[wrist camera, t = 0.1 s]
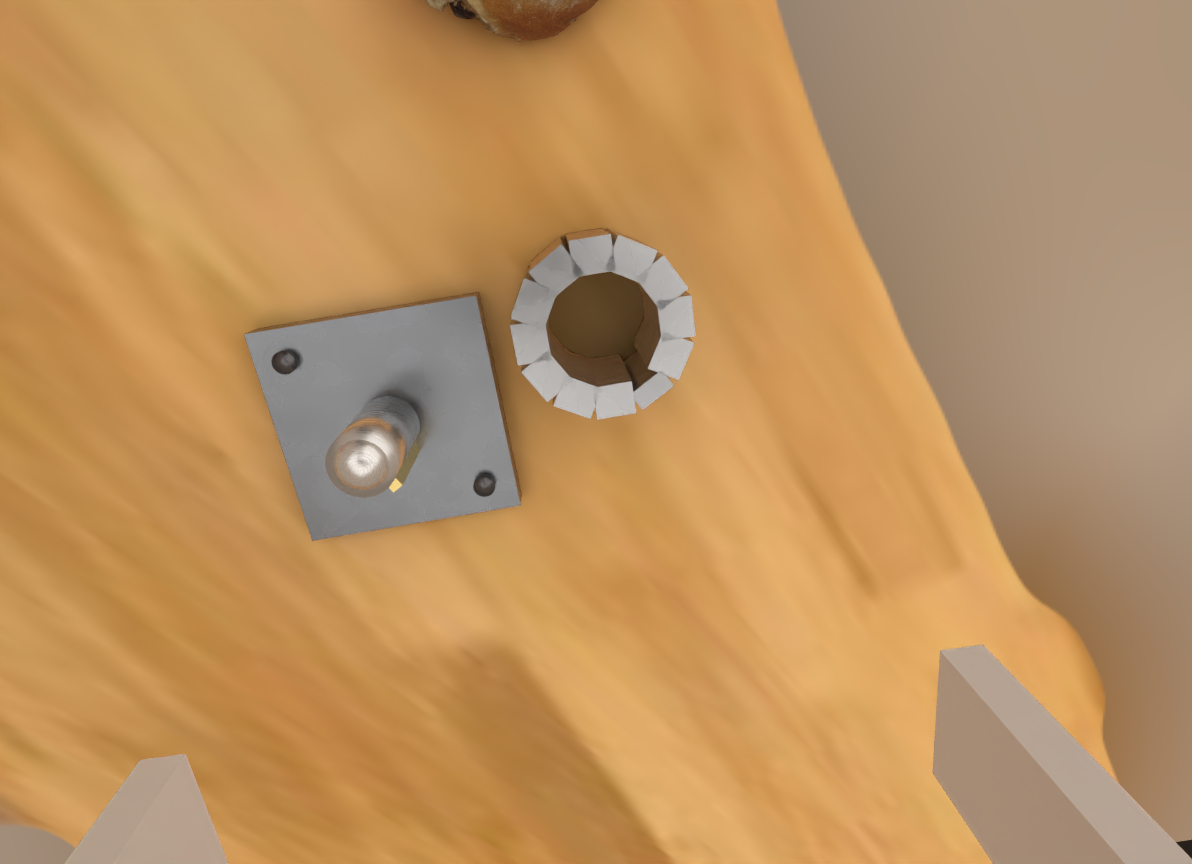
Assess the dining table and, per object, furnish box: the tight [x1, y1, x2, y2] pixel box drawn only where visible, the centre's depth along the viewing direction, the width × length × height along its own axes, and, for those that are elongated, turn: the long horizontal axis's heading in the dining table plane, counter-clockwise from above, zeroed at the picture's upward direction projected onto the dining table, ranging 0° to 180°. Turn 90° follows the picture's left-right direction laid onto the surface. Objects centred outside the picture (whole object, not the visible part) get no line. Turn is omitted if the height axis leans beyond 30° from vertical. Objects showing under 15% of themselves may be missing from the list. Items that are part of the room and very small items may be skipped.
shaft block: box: [244, 292, 522, 541], centre depth 35 cm, size 12×12×8 cm
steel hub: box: [510, 228, 696, 420], centre depth 34 cm, size 8×8×6 cm
